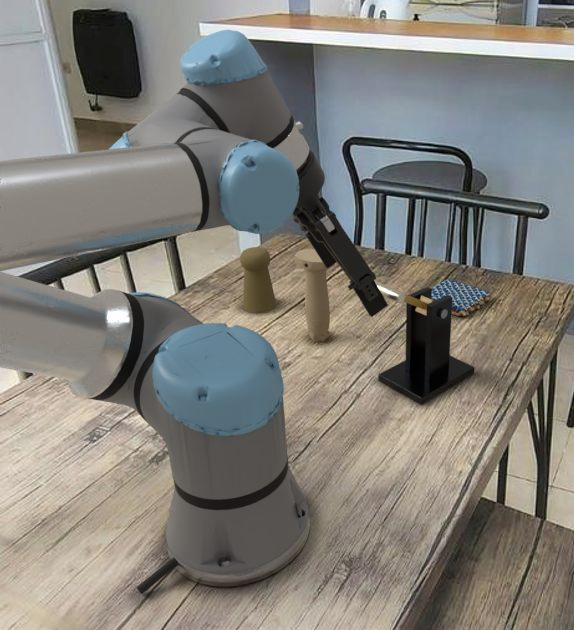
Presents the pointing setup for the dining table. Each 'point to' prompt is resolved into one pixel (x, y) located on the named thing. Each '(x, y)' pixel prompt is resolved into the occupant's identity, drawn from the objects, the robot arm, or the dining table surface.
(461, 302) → the woven mat
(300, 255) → the handle
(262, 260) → the olive pawn shaped figure
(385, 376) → the bracket
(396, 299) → the lever
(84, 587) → the dining table surface
